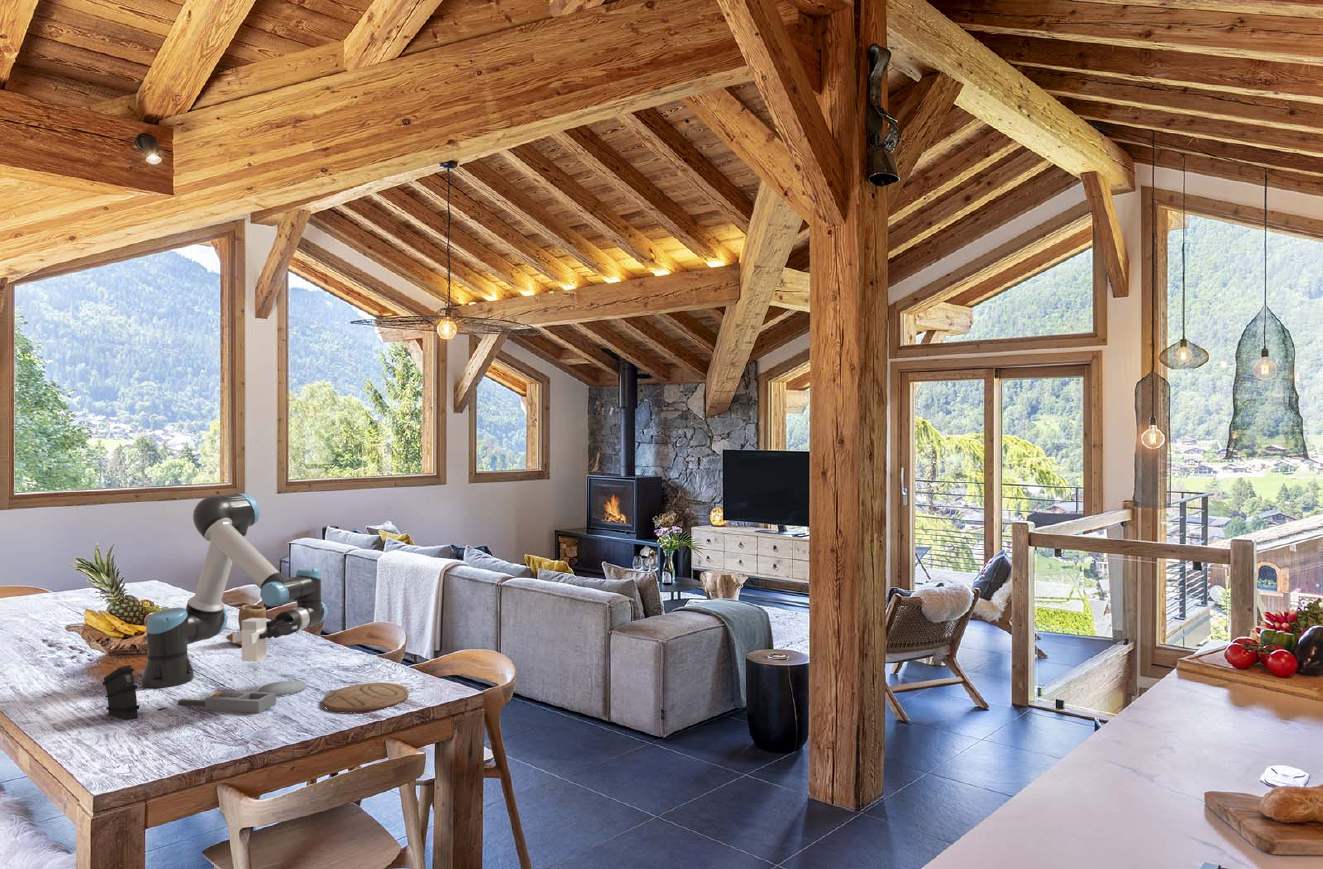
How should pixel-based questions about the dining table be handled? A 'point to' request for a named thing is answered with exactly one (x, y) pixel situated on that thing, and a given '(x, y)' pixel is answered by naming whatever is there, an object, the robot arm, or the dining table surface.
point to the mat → (283, 687)
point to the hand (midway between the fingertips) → (242, 638)
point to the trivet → (365, 697)
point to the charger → (256, 649)
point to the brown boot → (248, 616)
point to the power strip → (235, 701)
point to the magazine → (121, 693)
